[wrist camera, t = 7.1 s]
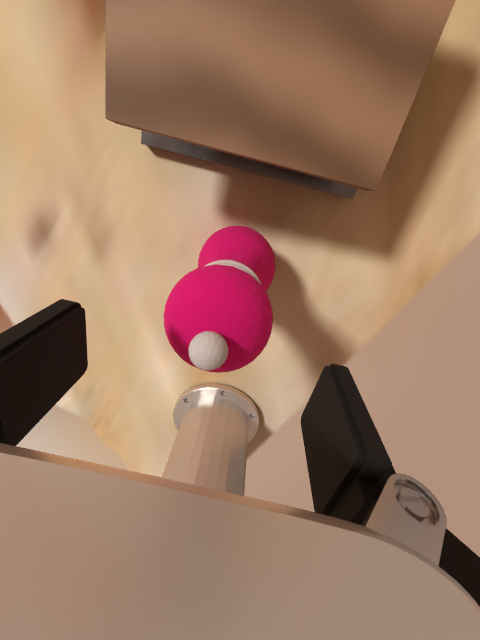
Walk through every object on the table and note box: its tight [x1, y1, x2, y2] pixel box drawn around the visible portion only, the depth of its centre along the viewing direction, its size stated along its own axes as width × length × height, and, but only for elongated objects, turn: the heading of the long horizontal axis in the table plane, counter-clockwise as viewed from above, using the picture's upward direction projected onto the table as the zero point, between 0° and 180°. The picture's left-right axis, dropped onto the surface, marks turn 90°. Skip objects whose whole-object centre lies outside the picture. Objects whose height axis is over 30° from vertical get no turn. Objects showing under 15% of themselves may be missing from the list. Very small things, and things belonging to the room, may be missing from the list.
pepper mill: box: [164, 226, 275, 372], centre depth 20 cm, size 7×7×20 cm
